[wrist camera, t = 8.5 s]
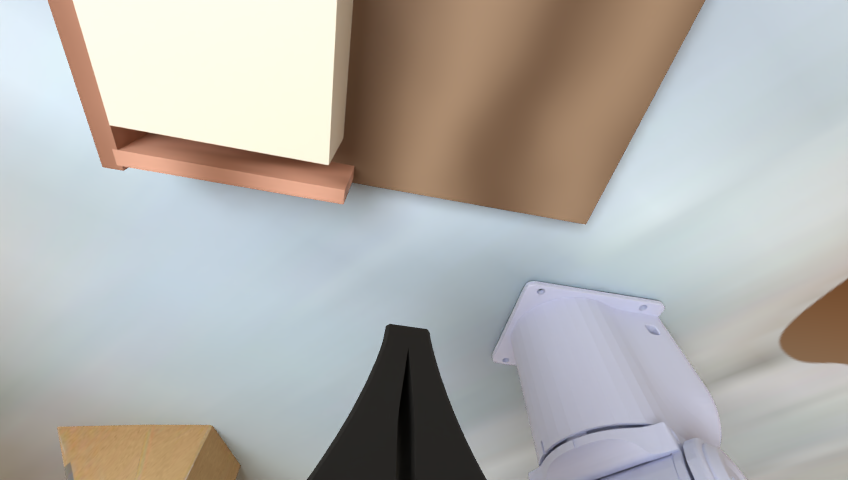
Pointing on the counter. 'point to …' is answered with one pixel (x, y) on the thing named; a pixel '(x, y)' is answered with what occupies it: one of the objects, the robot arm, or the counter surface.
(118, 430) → the sandwich container
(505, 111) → the open-sided wooden box
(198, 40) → the carton
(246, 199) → the counter surface
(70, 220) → the counter surface
